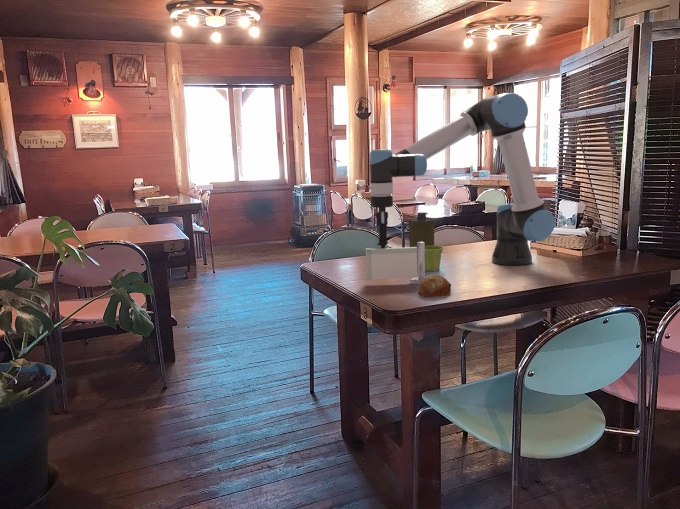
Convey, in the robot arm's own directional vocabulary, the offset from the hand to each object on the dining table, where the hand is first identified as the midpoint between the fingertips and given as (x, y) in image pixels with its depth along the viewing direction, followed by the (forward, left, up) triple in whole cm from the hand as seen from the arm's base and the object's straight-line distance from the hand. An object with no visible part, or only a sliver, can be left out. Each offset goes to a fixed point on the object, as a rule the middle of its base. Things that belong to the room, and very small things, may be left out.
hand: (383, 263), depth 194 cm
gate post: (-12, -4, -7) cm, 15 cm away
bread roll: (-23, +7, -7) cm, 25 cm away
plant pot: (-6, -24, -7) cm, 26 cm away
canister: (+5, -38, -7) cm, 39 cm away
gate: (-4, +1, -5) cm, 6 cm away
